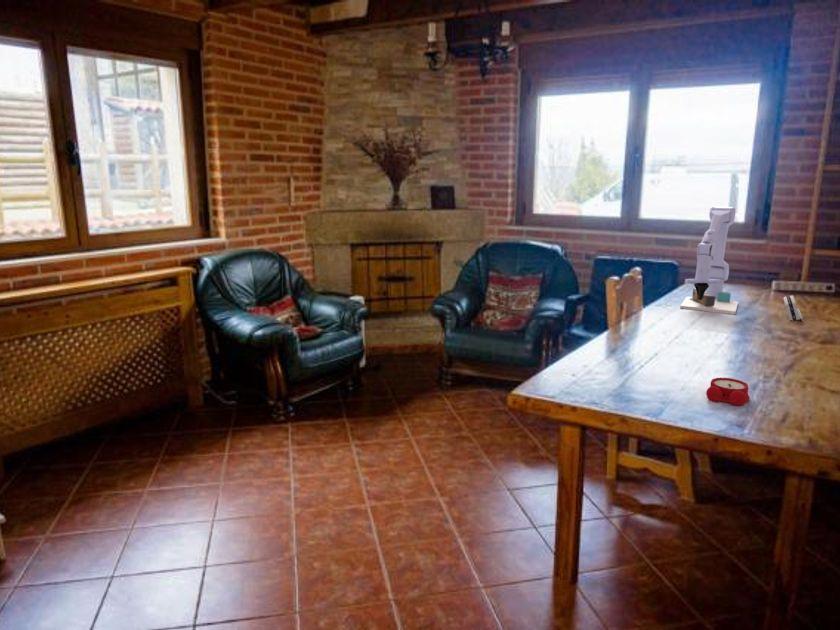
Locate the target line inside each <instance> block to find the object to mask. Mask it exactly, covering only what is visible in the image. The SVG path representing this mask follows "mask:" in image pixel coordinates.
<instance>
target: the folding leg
mask: <svg viewBox="0 0 840 630" xmlns="http://www.w3.org/2000/svg"><path fill="white" fill-rule="evenodd" d="M691 297H692V299H694V300H696V301H698V302H700V303H702V304H704V305H706V306H714V303H715V296H712V295H709V294H707V293H706V292H705V293H704V295H703V297H702V300H699V299H698V296H697V291H696V288H695V287H694V288H693V289H692V296H691Z"/></svg>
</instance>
